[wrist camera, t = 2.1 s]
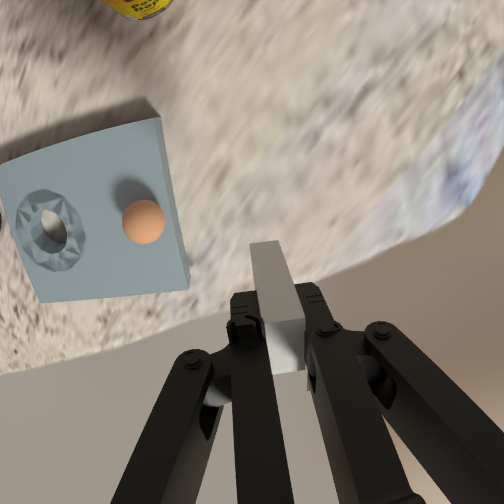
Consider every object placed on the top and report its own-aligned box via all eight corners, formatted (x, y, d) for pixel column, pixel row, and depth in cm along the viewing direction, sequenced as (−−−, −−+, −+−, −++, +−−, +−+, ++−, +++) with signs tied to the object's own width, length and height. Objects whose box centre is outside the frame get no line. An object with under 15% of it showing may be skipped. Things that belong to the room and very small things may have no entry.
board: (6, 161, 24) (-7, 167, 22) (160, 116, 25) (154, 117, 22) (49, 291, 32) (40, 303, 29) (190, 276, 32) (188, 289, 30)
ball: (124, 197, 25) (111, 212, 22) (164, 190, 25) (155, 204, 22) (134, 235, 27) (122, 254, 24) (172, 230, 27) (165, 248, 24)
